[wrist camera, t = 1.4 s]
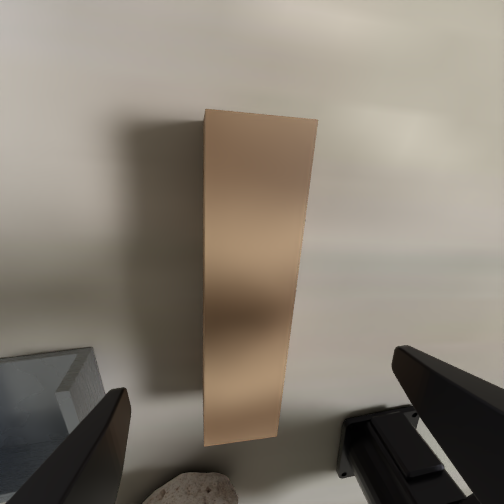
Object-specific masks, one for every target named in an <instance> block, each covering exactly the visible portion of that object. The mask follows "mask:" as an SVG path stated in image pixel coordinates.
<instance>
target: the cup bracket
mask: <svg viewBox="0 0 504 504" xmlns="http://www.w3.org/2000/svg"><path fill="white" fill-rule="evenodd" d="M104 396H105V392H104V388H103V385H102V381H101V377H100V373H99V370H98V366H97V362H96V358H95V355H94V351H93V347H91V348H83V349H75V350H67V351H59V352H51V353H43V354H35V355H27V356H19V357H11V358H3V359H0V503H2V502H7V501H8V500H9V499H10V498H11V497H12V496H13V495H14V494H15V493H16V492H17V490H18V489H19V488H20V487H21V486H22V485H23V484H24V483H25V482H26V481H27V480H28V479H29V477H30V476H31V475H32V474H33V473H34V472H35V471H36V470H37V469H38V468H39V467H40V466H41V464H42V463H43V462H44V461H45V460H46V459H47V458H48V457H49V456H50V455H51V454H52V452H53V451H54V450H55V449H56V448H57V447H58V446H59V445H60V444H61V443H62V442H63V441H64V439H65V438H66V437H67V436H68V435H69V434H70V433H71V432H72V431H73V430H74V429H75V428H76V426H77V425H78V424H79V423H80V422H81V421H82V420H83V419H84V418H85V417H86V416H87V415H88V413H89V412H90V411H91V410H92V409H93V408H94V407H95V406H96V405H97V404H98V403H99V401H100V400H101V399H102V398H103V397H104Z"/></svg>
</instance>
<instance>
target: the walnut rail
mask: <svg viewBox="0 0 504 504" xmlns="http://www.w3.org/2000/svg"><path fill="white" fill-rule="evenodd" d="M317 125H318V120H316V119H305V118H295V117H285V116H274V115H264V114H254V113H243V112H233V111H223V110H212V109H205V115H204V121H203V419H204V447H205V446H212V445H220V444H227V443H234V442H241V441H248V440H255V439H262V438H269V437H276V436H277V432H278V424H279V417H280V409H281V401H282V393H283V386H284V378H285V370H286V363H287V355H288V347H289V340H290V332H291V324H292V317H293V309H294V301H295V294H296V286H297V278H298V271H299V263H300V255H301V247H302V240H303V232H304V224H305V217H306V209H307V201H308V194H309V186H310V178H311V171H312V163H313V155H314V148H315V140H316V132H317Z"/></svg>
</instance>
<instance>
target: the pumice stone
mask: <svg viewBox="0 0 504 504" xmlns="http://www.w3.org/2000/svg"><path fill="white" fill-rule="evenodd" d="M142 504H238V496H237V494H236V492H235V489H234V486H233V485H232V484H231V482H230V480H229V478H228V477H227V476H226V475H223V474H220V473H216V472H211V473H198V472H189V473H182V474H180V475H179V476H177V477H176V478H174V479H172V480H171V481H169V482H168V483H166V484H165V485H163V486H162V487H160V488H158V489H157V490H155V491H154V492H153V493H152V494H151V495H150V496H149V497H147V499H146V500H145V501H144V502H143V503H142Z"/></svg>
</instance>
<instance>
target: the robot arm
mask: <svg viewBox="0 0 504 504" xmlns="http://www.w3.org/2000/svg"><path fill="white" fill-rule="evenodd" d="M392 370H393V373H394V374H395V376H396V378H397V379H398V381H399V383H400V385H401V386H402V388H403V390H404V391H405V393H406V395H407V397H408V398H409V400H410V402H411V403H412V405H413V406H411V407H405V408H400V409H395V410H390V411H385V412H380V413H374V414H369V415H364V416H359V417H354V418H349V419H347V420H345V421H344V423H343V428H342V435H341V442H340V449H339V456H338V463H337V470H336V471H337V474H338V476H339V478H347V477H351V476H355V477H356V479H357V481H358V483H359V485H360V487H361V489H362V491H363V494H364V496H365V498H366V500H367V502H368V504H504V389H502V388H500V387H498V386H496V385H494V384H491V383H489V382H487V381H485V380H483V379H481V378H478V377H476V376H474V375H472V374H470V373H467V372H465V371H463V370H461V369H459V368H457V367H454V366H452V365H450V364H448V363H446V362H443V361H441V360H439V359H437V358H435V357H433V356H430V355H428V354H426V353H424V352H422V351H419V350H417V349H415V348H413V347H411V346H408V345H404V346H398V347H396V348H395V350H394V355H393V360H392ZM419 417H420V418H421V419H422V421H423V422H424V424H425V425H426V427H427V428H428V429H429V431H430V432H431V434H432V435H433V437H434V438H435V439H436V441H437V442H438V444H439V445H440V447H441V448H442V449H443V451H444V452H445V454H446V455H447V457H448V458H449V459H450V461H451V462H452V464H453V465H454V466H455V468H456V469H457V471H458V472H459V474H460V475H461V476H462V478H463V479H464V481H465V482H466V484H467V485H468V486H469V488H470V489H471V491H472V492H473V493H472V494H471V495H469V496H468V497H466V495H465V494H464V493H463V492H462V490H461V489H460V488H459V486H458V485H457V484H456V483H455V481H454V480H453V479H452V477H451V476H450V475H449V474H448V472H447V471H446V470H445V469H444V465H443V463H442V462H441V461H440V459H439V458H438V457H437V455H436V454H435V453H434V452H433V450H432V449H431V448H430V447H429V445H428V444H427V443H426V441H425V440H424V439H423V438H422V436H421V435H420V434H419V433H418V431H417V430H416V428H417V424H418V420H419ZM130 418H131V405H130V401H129V397H128V392H127V389H126V388H124V387H122V388H116V389H111V390H110V391H109V392H108V393H107V394H106V395H105V396H104V397H103V398H102V399H101V400H100V401H99V403H98V404H97V405H96V406H95V407H94V408H93V409H92V410H91V411H90V412H89V413H88V415H87V416H86V417H85V418H84V419H83V420H82V421H81V422H80V423H79V424H78V425H77V426H76V428H75V429H74V430H73V431H72V432H71V433H70V434H69V435H68V436H67V437H66V438H65V439H64V441H63V442H62V443H61V444H60V445H59V446H58V447H57V448H56V449H55V450H54V451H53V452H52V454H51V455H50V456H49V457H48V458H47V459H46V460H45V461H44V462H43V463H42V464H41V466H40V467H39V468H38V469H37V470H36V471H35V472H34V473H33V474H32V475H31V476H30V477H29V479H28V480H27V481H26V482H25V483H24V484H23V485H22V486H21V487H20V488H19V489H18V490H17V492H16V493H15V494H14V495H13V496H12V497H11V498H10V499H9V500H8V501H7V502H6V504H115V501H116V497H117V493H118V489H119V485H120V480H121V476H122V471H123V465H124V458H125V452H126V445H127V438H128V432H129V425H130Z"/></svg>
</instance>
